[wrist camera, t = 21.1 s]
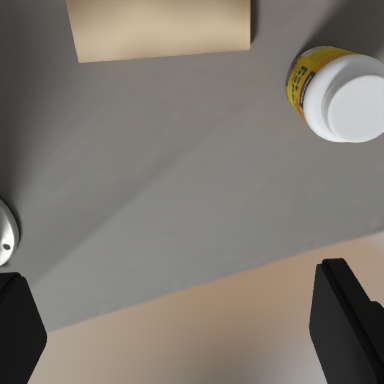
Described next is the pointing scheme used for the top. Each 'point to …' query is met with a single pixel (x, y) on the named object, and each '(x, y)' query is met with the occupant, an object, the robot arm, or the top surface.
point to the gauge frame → (157, 27)
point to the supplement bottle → (338, 93)
